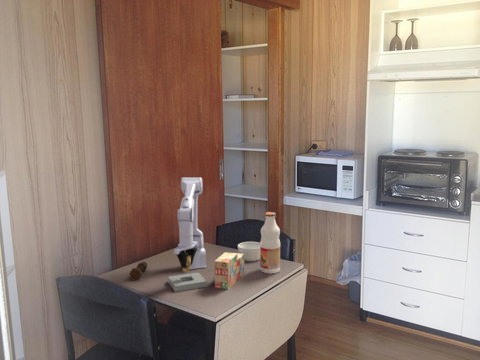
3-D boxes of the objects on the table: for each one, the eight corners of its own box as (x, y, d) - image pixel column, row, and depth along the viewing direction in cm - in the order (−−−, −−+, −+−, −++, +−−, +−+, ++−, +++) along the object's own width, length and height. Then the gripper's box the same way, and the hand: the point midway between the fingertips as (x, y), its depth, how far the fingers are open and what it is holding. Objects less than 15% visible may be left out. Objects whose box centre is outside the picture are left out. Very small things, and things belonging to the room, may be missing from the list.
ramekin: (232, 259, 223) (232, 246, 222) (246, 252, 234) (246, 240, 233) (254, 263, 216) (254, 250, 215) (267, 257, 227) (268, 244, 226)
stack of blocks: (232, 271, 206) (231, 246, 204) (244, 272, 204) (244, 247, 202) (214, 288, 186) (214, 260, 184) (228, 289, 184) (228, 261, 182)
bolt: (146, 272, 211) (137, 282, 196) (137, 266, 211) (127, 277, 196) (151, 262, 210) (143, 272, 195) (142, 256, 210) (133, 266, 195)
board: (198, 277, 198) (198, 272, 198) (206, 286, 187) (206, 281, 187) (168, 281, 193) (168, 276, 192) (174, 291, 182) (174, 286, 181)
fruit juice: (277, 275, 200) (277, 215, 196) (257, 272, 203) (257, 214, 199) (282, 268, 209) (282, 211, 205) (263, 266, 212) (263, 210, 208)
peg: (188, 268, 192) (188, 254, 191) (192, 270, 188) (192, 256, 188) (180, 270, 189) (180, 255, 189) (184, 272, 186) (184, 257, 185)
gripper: (188, 230, 195) (189, 259, 197) (167, 238, 183) (168, 269, 185) (201, 232, 191) (202, 262, 193) (181, 240, 179) (181, 272, 181)
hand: (186, 265), depth 189 cm, fingers closed on peg, 4 cm apart
